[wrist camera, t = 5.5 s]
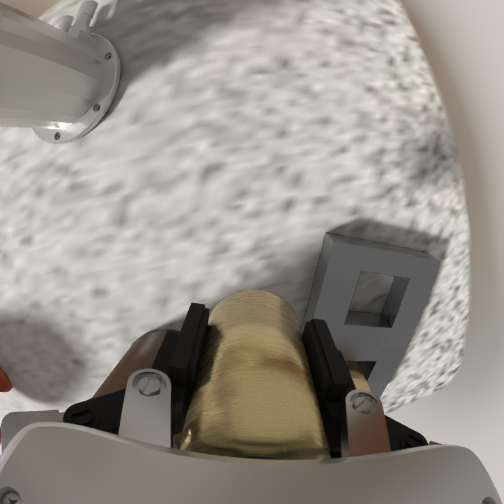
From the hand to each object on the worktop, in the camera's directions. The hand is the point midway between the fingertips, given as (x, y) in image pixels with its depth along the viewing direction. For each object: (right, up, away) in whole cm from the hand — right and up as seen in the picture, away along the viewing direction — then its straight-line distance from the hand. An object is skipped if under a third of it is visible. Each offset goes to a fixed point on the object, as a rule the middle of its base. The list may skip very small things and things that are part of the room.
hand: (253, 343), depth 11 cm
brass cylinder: (0, 0, +1) cm, 1 cm away
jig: (+11, -5, +18) cm, 22 cm away
